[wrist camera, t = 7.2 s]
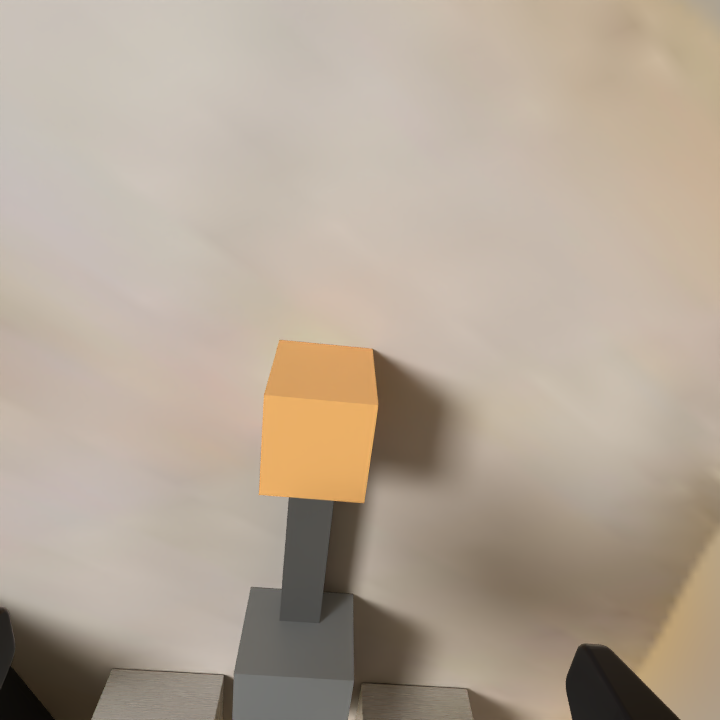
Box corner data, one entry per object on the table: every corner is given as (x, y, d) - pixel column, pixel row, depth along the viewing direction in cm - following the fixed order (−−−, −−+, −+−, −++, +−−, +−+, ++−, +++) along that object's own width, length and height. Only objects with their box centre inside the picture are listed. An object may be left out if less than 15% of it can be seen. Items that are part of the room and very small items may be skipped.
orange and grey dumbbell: (338, 695, 24) (336, 787, 20) (245, 690, 23) (230, 783, 20) (389, 350, 17) (398, 407, 14) (262, 338, 17) (243, 393, 14)
